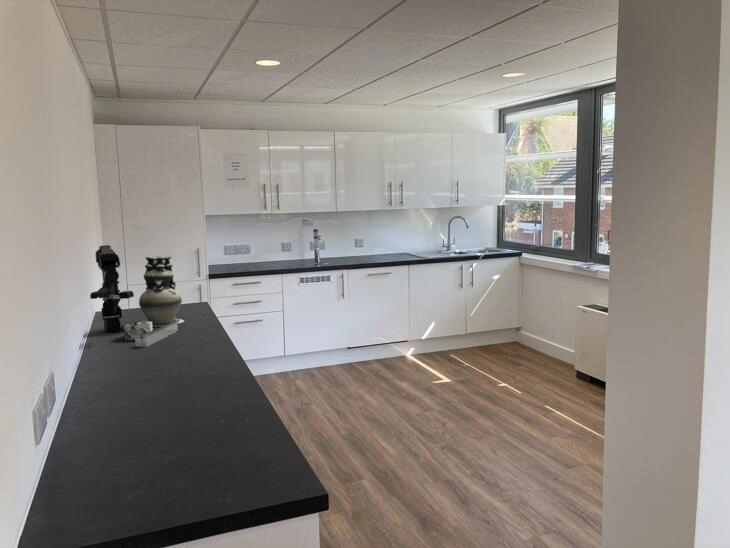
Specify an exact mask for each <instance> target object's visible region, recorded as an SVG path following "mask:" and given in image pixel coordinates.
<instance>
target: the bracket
mask: <svg viewBox="0 0 730 548" xmlns="http://www.w3.org/2000/svg"><path fill="white" fill-rule="evenodd" d="M178 324H179V323H178V321H173V322H171V323H168V324H166V325H164V326H159V327H158V328H155V329H153V331H151V332H148V333H146V334H144V335H142V337H143V339H135V340H134V341H135V342H134V343H135V347H136V348H137V347H139V348H141V347H142V348H143V347H144V348H146V347H149V346H151V345H154V344H155V343H158V342H159V341H161V340H164V339H165V338H167V337H169V336H171V335H173V334H175V333H177V332H178V331H179V330H178V328H179V327H178ZM176 331H177V332H176ZM170 334H171V335H170ZM168 335H169V336H168Z"/></svg>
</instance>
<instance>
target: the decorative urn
mask: <svg viewBox="0 0 730 548" xmlns="http://www.w3.org/2000/svg"><path fill="white" fill-rule="evenodd" d="M171 259H172V256H171V255H167V256H164V257H162V256H161V255H160V256H159V255H157V256H151V257H149V256H145V260H146V261H147V263H146V264H145V265H144V268H145V269H146V270H145V272H144V274H143V279H144V281H145V285H146V287H145V290H144V292H142V293H141V294H140V297H139V300H138V304H139V308H140V310H141V311H142V313H143V314H144V316H145V317H146V319H147V321H148V322H152V326H153V327H155V328H156V327H162V326H164V325H166V324H168V323H171V322H173V321H178V323H177V324H182V323H184V322H185V320H184V319H181V318H176V315H177V313H178V311H179V309H180V308H181V305H182V302H183V301H182V300H183V298H182V296H181V294H180V293H179V292H178V291H177V290H176V284H177V283H176V281H175V280H174V273H173V269H172V268H173V266H174V264H173V263H171V261H170V260H171Z"/></svg>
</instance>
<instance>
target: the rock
mask: <svg viewBox="0 0 730 548" xmlns="http://www.w3.org/2000/svg"><path fill="white" fill-rule="evenodd" d="M123 329H124V339H125V341H127V342H129V341H130V342H131V341H135V339H143V337H142V335H144V334H146V333H149V332H148V330H147V329H145V328H143V327H140V326H138V325H137V324H135V323H128V324H124V325H123Z"/></svg>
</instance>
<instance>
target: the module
mask: <svg viewBox="0 0 730 548" xmlns="http://www.w3.org/2000/svg"><path fill="white" fill-rule="evenodd" d="M136 325H138V326H140V327H143V328H145V329H147V330H148V333H149V332H150V331H152V330H154V328H153V327H154V326H152V322H148V320H142V321H139V322H137V323H136Z"/></svg>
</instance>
